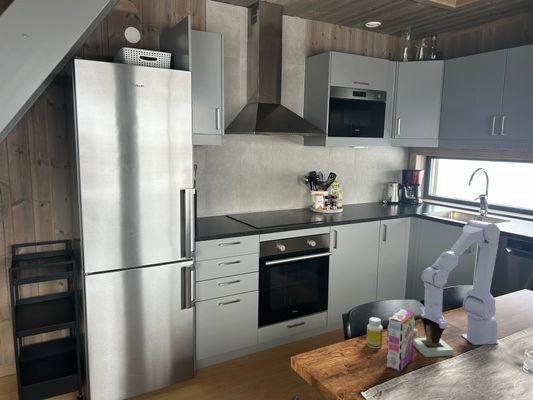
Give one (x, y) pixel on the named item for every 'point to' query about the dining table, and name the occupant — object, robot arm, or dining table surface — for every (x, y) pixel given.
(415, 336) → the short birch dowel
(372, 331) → the supplement bottle
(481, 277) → the robot arm
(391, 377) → the dining table surface
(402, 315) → the candy bar box
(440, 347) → the hole board
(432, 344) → the brown wooden peg
